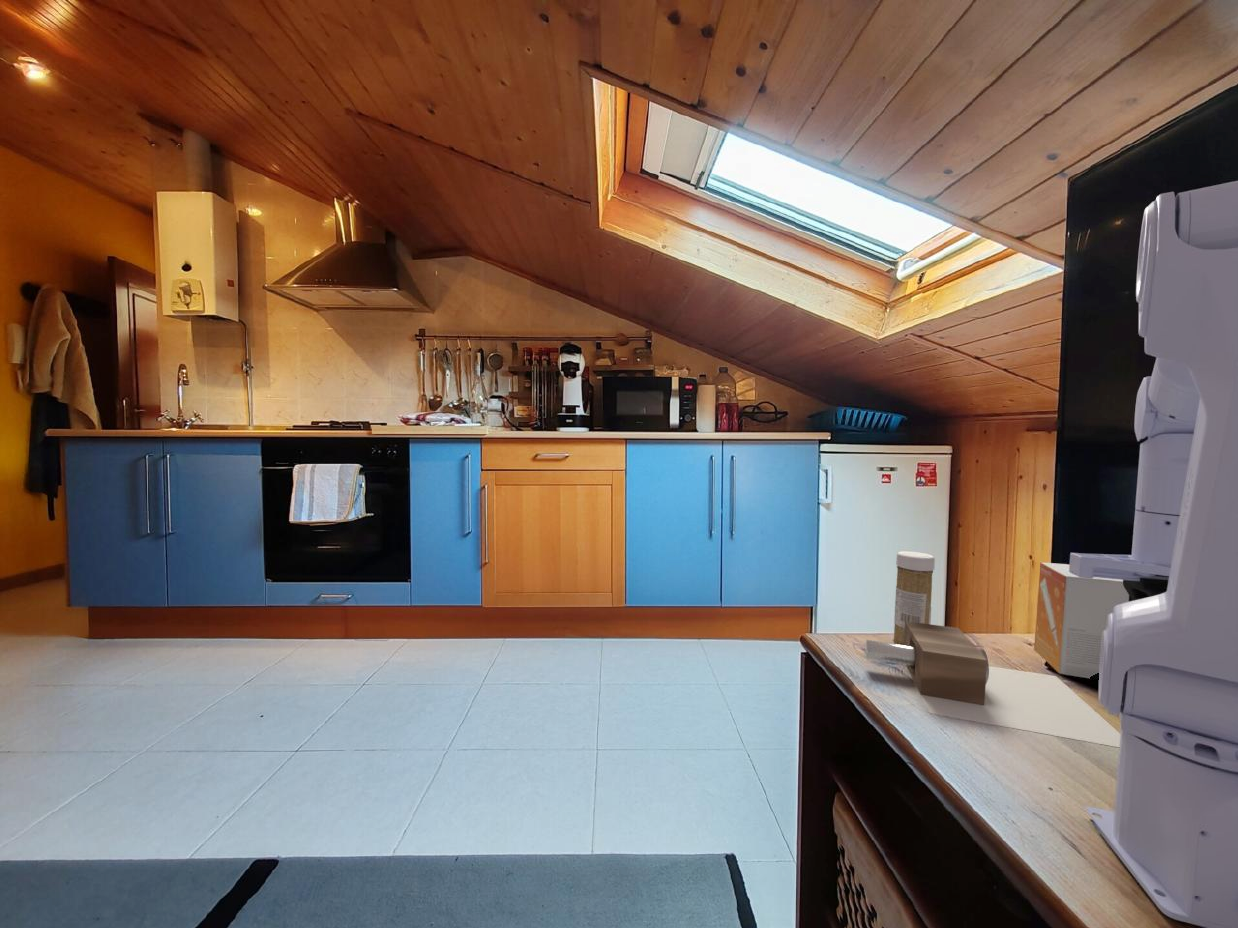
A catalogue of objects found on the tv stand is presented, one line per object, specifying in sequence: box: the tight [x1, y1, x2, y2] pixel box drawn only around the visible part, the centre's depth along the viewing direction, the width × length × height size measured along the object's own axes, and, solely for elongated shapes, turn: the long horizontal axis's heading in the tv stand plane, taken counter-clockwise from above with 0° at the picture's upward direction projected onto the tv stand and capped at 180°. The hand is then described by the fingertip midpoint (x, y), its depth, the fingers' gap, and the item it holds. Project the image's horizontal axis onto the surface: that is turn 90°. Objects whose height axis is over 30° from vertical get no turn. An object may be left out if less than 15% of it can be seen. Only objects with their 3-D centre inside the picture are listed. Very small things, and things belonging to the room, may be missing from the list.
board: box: [904, 664, 1120, 749], centre depth 57 cm, size 16×17×1 cm
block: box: [904, 621, 987, 706], centre depth 60 cm, size 10×6×5 cm, turn 160°
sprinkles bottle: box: [892, 550, 935, 645], centre depth 70 cm, size 5×5×14 cm
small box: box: [1033, 562, 1130, 679], centre depth 65 cm, size 8×6×13 cm
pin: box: [864, 639, 990, 683], centre depth 60 cm, size 4×12×4 cm, turn 70°
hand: (1168, 664), depth 45 cm, fingers closed
